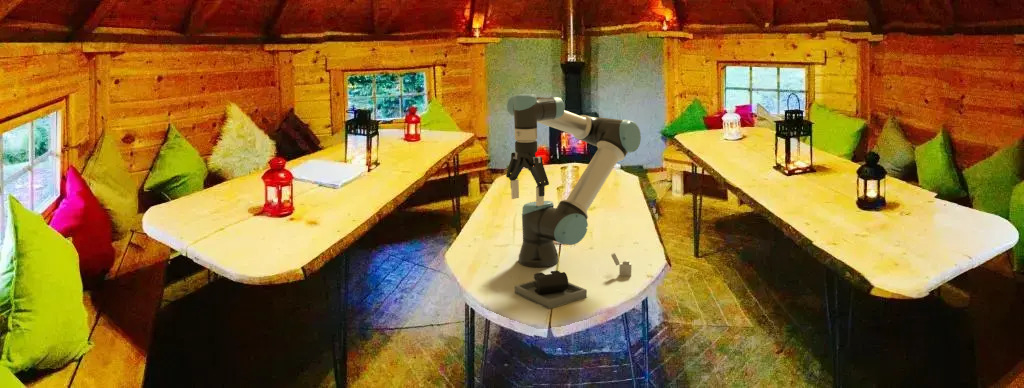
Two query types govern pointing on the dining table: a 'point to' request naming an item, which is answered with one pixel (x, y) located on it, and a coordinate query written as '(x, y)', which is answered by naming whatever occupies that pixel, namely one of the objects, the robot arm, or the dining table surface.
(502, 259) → the dining table surface
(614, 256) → the lighter
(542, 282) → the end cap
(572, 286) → the seat tray
